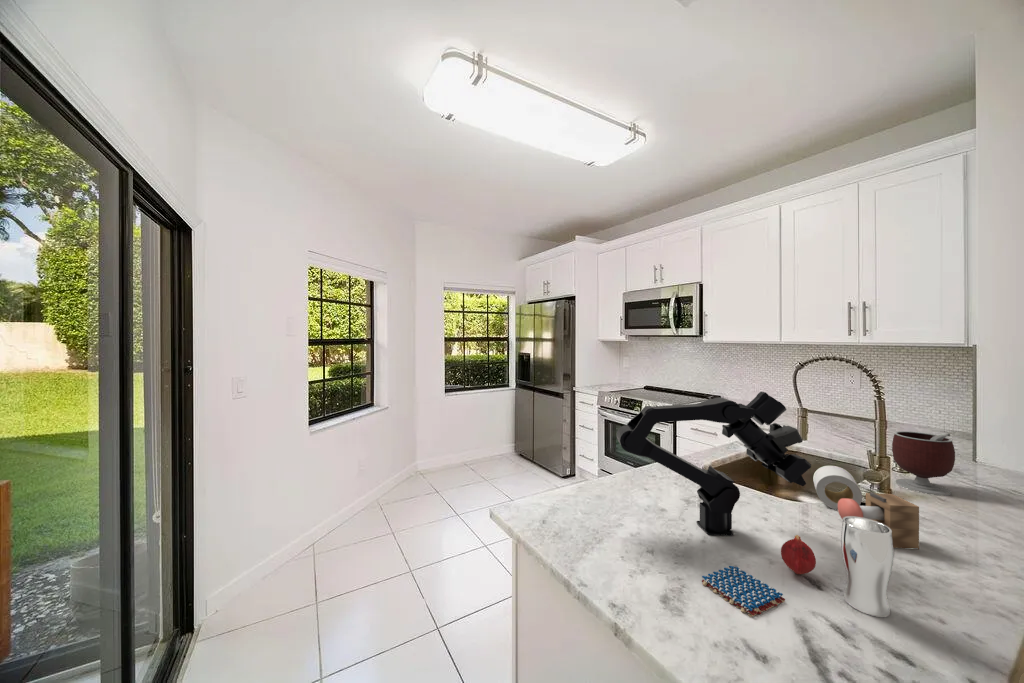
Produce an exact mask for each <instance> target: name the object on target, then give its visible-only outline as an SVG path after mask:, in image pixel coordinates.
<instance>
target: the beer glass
mask: <svg viewBox="0 0 1024 683" xmlns="http://www.w3.org/2000/svg"><path fill="white" fill-rule="evenodd" d="M840 542H841V543H840V546H841V553H842V558H843V563H844V564H843V565H844V567H845V573H846V585H845V586H846V587H845V590H844V594H843V597H844V601H845V602H846V603H847V604H849V606H851V607H852V608H853V609H855V610H857V611H859V612H861V613H863V614H866V615H868V616H872V617H876V618H887V617H889V616H890V614H891V611H890V610H891V609H890V606H889V600H888V596H887V595H888V594H887V593H888V587H889V586H888V585H889V581H890V578H891V574H892V570H893V565H894V554H895V553H894V548H893V540H892V530H891V529H890V528H889V527H888V526H886V525H884V524H882V523H880V522H877V521H874V520H871V519H867V518H862V517H856V516H846V517H844V518H843V520H842V526H841V538H840Z"/></svg>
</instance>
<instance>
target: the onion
mask: <svg viewBox="0 0 1024 683" xmlns="http://www.w3.org/2000/svg"><path fill="white" fill-rule="evenodd" d="M780 555H781V559H782V560H783V562H784V564H785V565H786V567H787V568H788V569H789V570H791V571H792V572H793V573H795V575H799V576H800V575H804V574H808V573H811V572H813V570H814V569H815V567H816V565H817V558H816V555H815V553H814V551H813V549H812V548H811V547H810V546H809V545H808V544H807V543H806V542H805V541H803V539H802V538H801V536H800V535H798V534H796V535H794V537H793V538H792V539H789V540H787V541H785V542H784V543H783V544H782V545H781V547H780Z"/></svg>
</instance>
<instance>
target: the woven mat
mask: <svg viewBox="0 0 1024 683" xmlns="http://www.w3.org/2000/svg"><path fill="white" fill-rule="evenodd" d="M728 567H729V568H728ZM728 567H723V569H718V571H713V572H712V573H711V574H710V573H707V576H706V575H701V577H702V580H701V582H702V585H703V586H704V587H710V588H709V589H708V590H710V591H712V592H713V593H714V594H719V593H720V594H719V597H721V598H723V601H725V602H728V603H729V604H731V605H732V606H733V605H734V606H735V607H736V609H740V612H741V613H743V612H744V613H745V614H746V613H748V614H747V616H748V617H749V618H752V617H755V616H757V615H762V613H763V612H766V611H767V610H770V609H772V608H773V607H778V605H780V604H782V603H785V602H786V598H784V597H783V596H784V594H783V593H782V592H780V591H779V590H777V589H776V588H774V587H773V586H770V585H768V583H764V581H762V580H760V579H757V578H756V577H754V576H753V575H752V574H749V573H748V572H746V571H745V570H742V569H741V568H740V567H738V566H733V565H728Z"/></svg>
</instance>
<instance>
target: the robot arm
mask: <svg viewBox="0 0 1024 683" xmlns="http://www.w3.org/2000/svg"><path fill="white" fill-rule="evenodd" d="M786 411H787V407H786V406H785V405H784V404H783V403H782V402H781V401H779V400H777V399H776V398H774V397H772V395H769V394H768V393H767V392H765V391H760V392H758V393H757V394H756V396H755V397H754V398H753V399H752V400H751V401H750V402H748V404H746V405H745V404H742V403H737V402H736V401H733V400H730V399H728V398H725V397H714V398H711V399H706V400H703V401H702V402H698V403H690V404H689V403H688V404H672V405H654V406H652V405H646V406H644V407H643V408H642V409H641V410H640V411H639V413H638V414H636V415H635V416H634V417H632V419H630V420H629V421H628V422H627V424H625V425H622V426H621V427H619V428H618V429H617V431H616V440H617V441H618V443H619V444H620V446H621V448H622V450H624V451H625V452H627V453H630V454H631V455H636V456H638V457H642V458H643V457H645V458H649V459H651V460H652V461H654V462H656V463H658V464H660V465H662V466H663V467H665V468H667V469H669V470H671V471H672V472H674V473H676V474H678V475H680V476H682V477H683V478H686V479H687V480H689V481H691V482H693V483H695V484H697V485H698V486H700V488H698V489H697V490H696V493H697V495H698V497H699V499H700V500H701V501H702V502H701V501H700V502H699V520H696V524H697V525H698V526H699V527H700V528H701V529H702V530H703V531H704V532H705V534H707V535H708V536H734V532H733V530H732V528H733V525H732V524H733V518H732V516H733V514H732V513H733V510H734V508H735V505H736V503H737V502H738V501H739V499H740V496H741V491H740V488H739V487H738V486H737V485H736V484H734V483H735V481H734V480H733V479H732V478H731V477H729V476H728V475H727V474H726V473H724V471H719V470H716V469H715V468H714V467H713V466H711V465H708V468H707V469H704V468H701V467H698V466H697V465H695V464H693V463H691V462H690V461H688V460H686V459H684V458H682V457H680V456H679V455H676V454H674V453H672V452H671V451H669V450H668V449H665V448H663V447H662V446H660V445H659V444H658V445H657V444H656V443H655V442H653V441H651V440H650V439H649V438H648V436H649V435H650V434H651V431H652V430H653V428H654V427H655V425H656V424H657V423H670V422H672V423H673V422H686V421H689V422H690V421H708V422H713V423H719V424H722V425H721V426H722V430H721V434H722V435H723V436H724V437H726V438H731V437H732V436H735V438H737V439H738V440H739V441H740V442H741V443H742V444H743V446H744V448H745V449H746V455H747V456H748V457H749V458H750V459H752V460H753V461H755V462H758V461H760V462H762V463H761V466H763V467H764V468H766V469H767V470H770V471H771V472H774V474H775V475H777V476H779V478H782V479H784V480H785V481H787V482H788V483H790V484H792V483H794V484H797V485H799V486H802V487H804V486H806V485H807V483H806V480H805V479H804V477H803V475H804V474H805V473H806V472H807V471H809V470H810V469H811V467H812V464H811V463H810V462H809V461H808V459H805V458H804V457H802V456H800V455H797V454H796V453H795V454H792V453H791V454H789V453H788V451H789V449H788V448H789V447H790V446H794V445H797V444H801V443H803V441H804V440H803V438H802V436H801V434H800V433H799V430H798V428H795V427H793V426H790V425H780V424H779V423H777V422H775V421H776V420H777V419H778V418H779V417H781V415H782V414H784V413H785V412H786ZM725 424H726V425H725ZM764 424H765V425H766V426H769V430H768V432H769V433H767V432H766V431H764V429H762V428H761V427H760V426H759V425H761V426H763V425H764Z"/></svg>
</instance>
